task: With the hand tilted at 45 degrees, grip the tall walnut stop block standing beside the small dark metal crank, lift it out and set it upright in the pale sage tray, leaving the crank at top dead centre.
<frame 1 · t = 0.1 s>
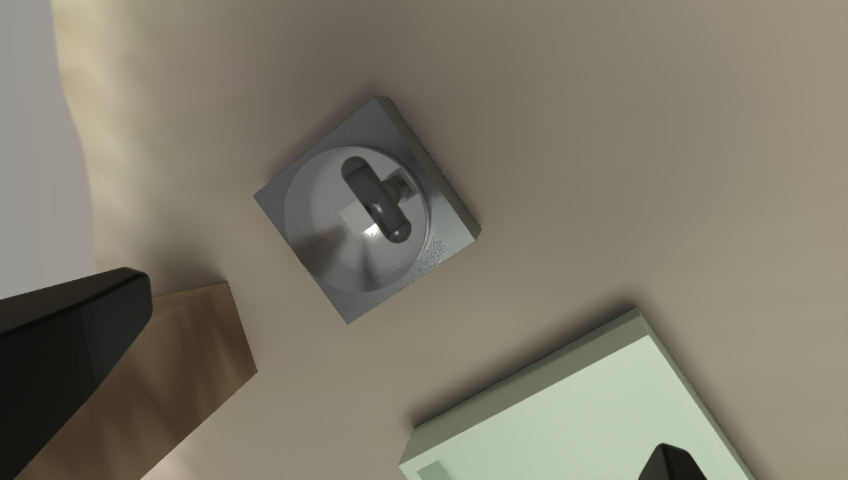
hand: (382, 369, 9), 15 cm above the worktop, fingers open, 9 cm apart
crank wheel: (340, 229, 21), point 4 cm above the worktop, hinge at 0.0°
stop block: (201, 334, 29), on the worktop
crank base: (374, 208, 25), on the worktop
tray: (591, 475, 26), on the worktop
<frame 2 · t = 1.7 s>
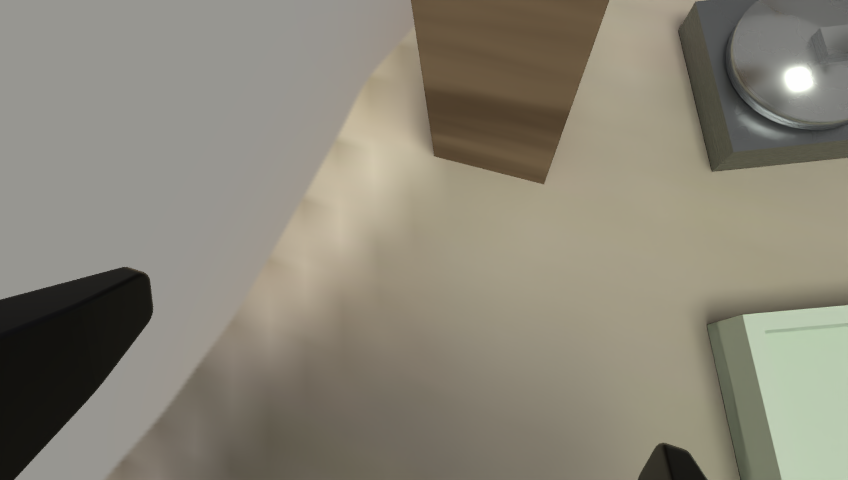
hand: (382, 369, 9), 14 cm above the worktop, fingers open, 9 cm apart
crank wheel: (837, 28, 20), point 4 cm above the worktop, hinge at 0.0°
stop block: (503, 120, 25), on the worktop
crank base: (775, 89, 24), on the worktop
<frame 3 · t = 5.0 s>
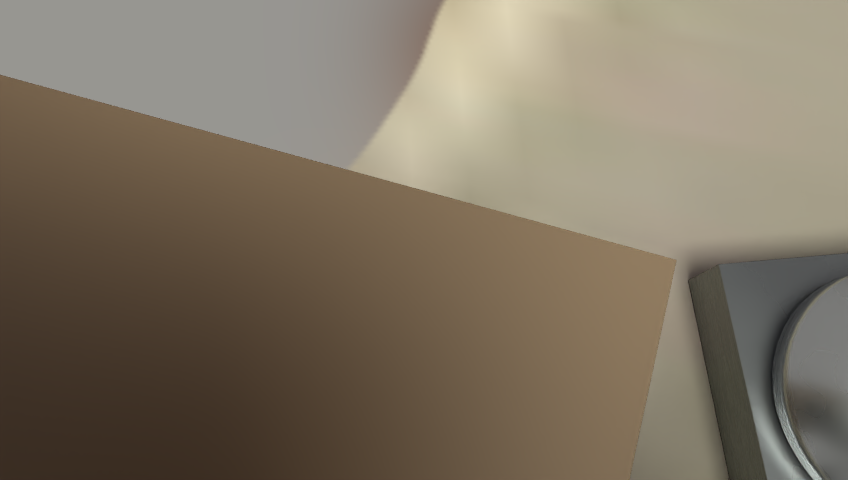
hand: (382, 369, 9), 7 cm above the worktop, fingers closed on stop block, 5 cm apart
stop block: (400, 430, 15), on the worktop, touching gripper
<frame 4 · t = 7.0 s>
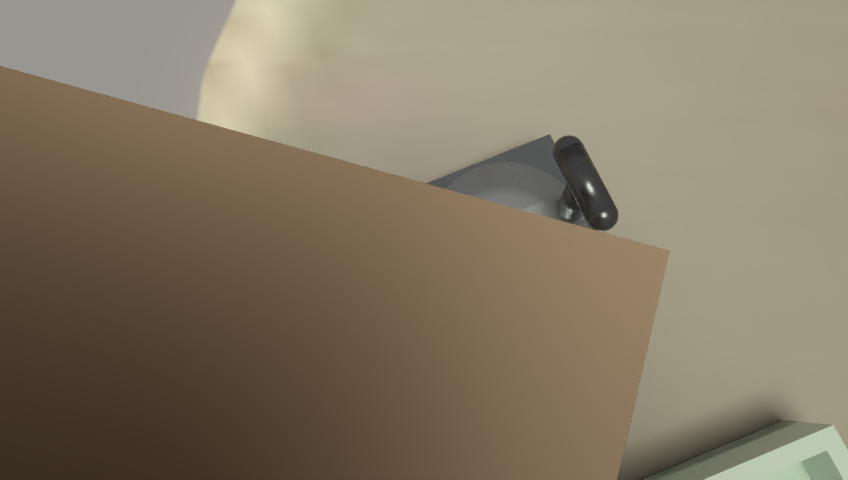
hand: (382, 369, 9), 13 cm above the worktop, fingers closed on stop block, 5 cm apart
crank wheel: (509, 226, 19), point 4 cm above the worktop, hinge at 0.0°
stop block: (406, 431, 15), point 7 cm above the worktop, touching gripper
crank base: (502, 255, 23), on the worktop
when the fingers open (9 cm above the worktop, at t = 9.4 s): stop block drops 1 cm, resting on tray.
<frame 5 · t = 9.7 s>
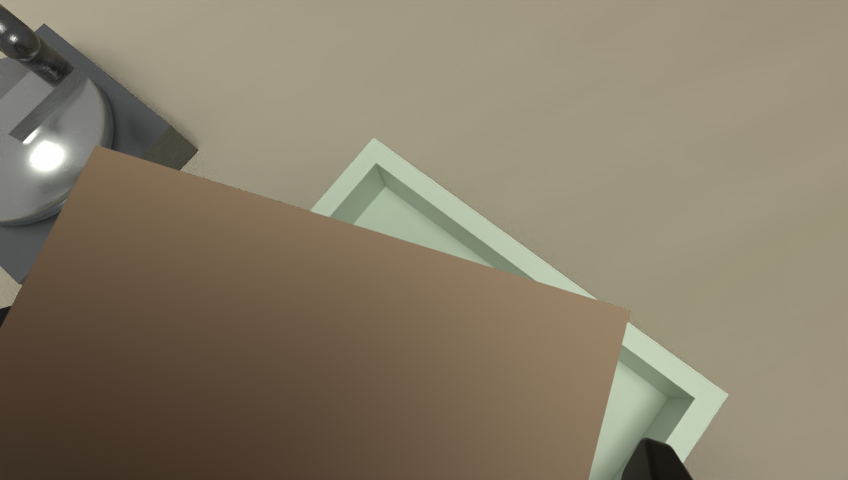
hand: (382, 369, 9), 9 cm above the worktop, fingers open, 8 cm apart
stop block: (407, 425, 17), point 1 cm above the worktop, touching tray
crank base: (71, 166, 21), on the worktop
tray: (411, 424, 18), on the worktop
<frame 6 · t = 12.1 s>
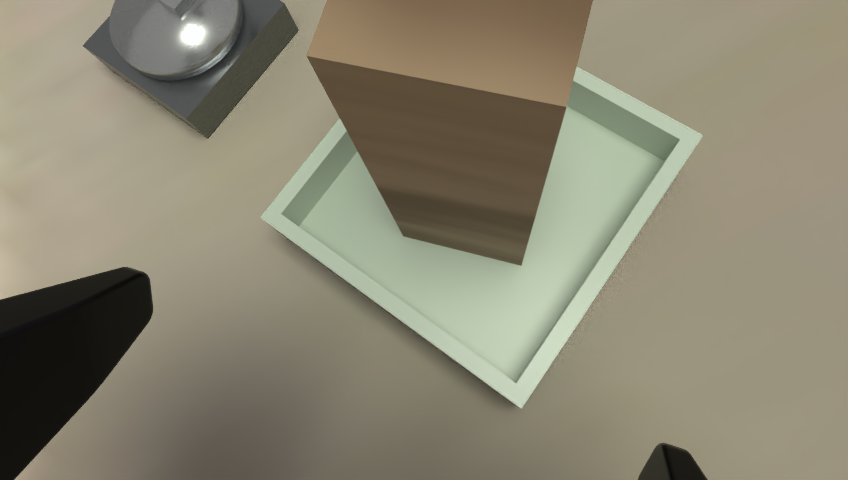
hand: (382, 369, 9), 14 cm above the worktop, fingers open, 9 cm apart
stop block: (476, 194, 23), point 1 cm above the worktop, touching tray
crank base: (203, 50, 28), on the worktop
tray: (477, 202, 24), on the worktop
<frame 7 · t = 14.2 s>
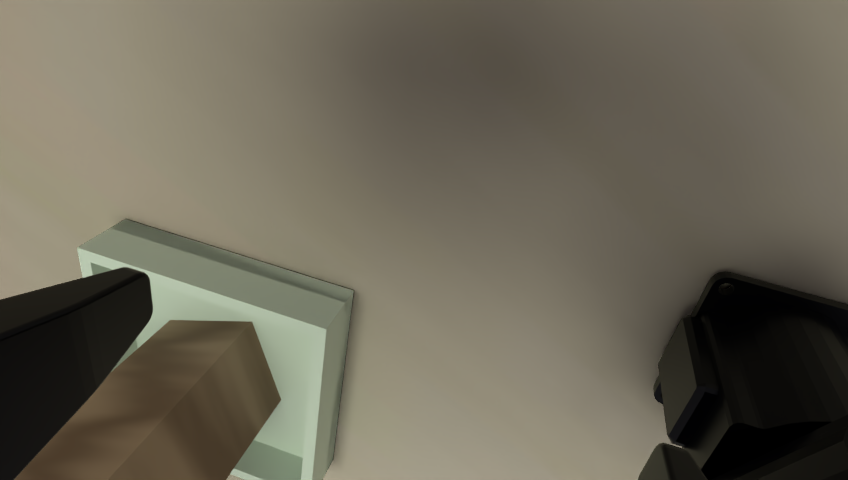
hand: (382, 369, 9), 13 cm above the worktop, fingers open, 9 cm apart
stop block: (226, 360, 29), point 1 cm above the worktop, touching tray
tray: (236, 348, 30), on the worktop
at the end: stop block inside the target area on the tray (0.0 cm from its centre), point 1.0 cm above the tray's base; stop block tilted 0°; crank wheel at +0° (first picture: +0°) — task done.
